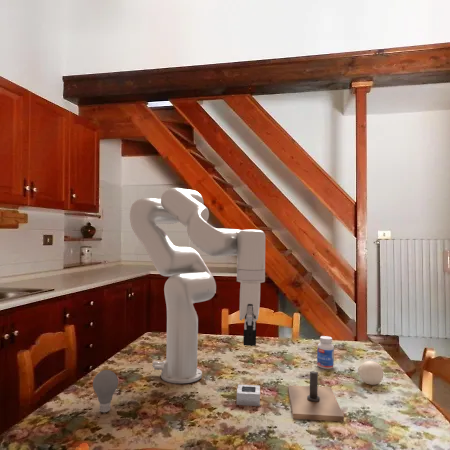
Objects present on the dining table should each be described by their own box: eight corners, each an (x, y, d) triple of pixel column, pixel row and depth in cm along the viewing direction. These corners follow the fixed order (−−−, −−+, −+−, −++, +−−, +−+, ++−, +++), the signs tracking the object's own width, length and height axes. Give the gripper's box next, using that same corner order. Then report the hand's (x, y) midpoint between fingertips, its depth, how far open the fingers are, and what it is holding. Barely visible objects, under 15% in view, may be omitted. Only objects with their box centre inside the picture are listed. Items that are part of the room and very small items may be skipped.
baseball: (361, 377, 126) (361, 356, 126) (385, 383, 122) (386, 360, 122) (354, 384, 120) (354, 361, 120) (379, 390, 116) (380, 366, 116)
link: (236, 404, 104) (236, 393, 105) (237, 395, 110) (238, 384, 110) (259, 406, 104) (260, 394, 104) (259, 396, 110) (260, 385, 110)
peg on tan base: (293, 418, 97) (293, 384, 97) (287, 389, 115) (288, 360, 115) (343, 421, 96) (344, 386, 96) (330, 391, 114) (331, 362, 114)
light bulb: (103, 419, 95) (104, 376, 95) (86, 412, 98) (87, 371, 98) (122, 410, 100) (123, 369, 100) (105, 404, 103) (106, 365, 104)
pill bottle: (315, 367, 134) (316, 338, 135) (318, 363, 139) (318, 334, 140) (332, 370, 132) (333, 340, 133) (334, 365, 137) (335, 336, 138)
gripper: (238, 272, 117) (237, 332, 116) (234, 279, 99) (234, 349, 99) (264, 273, 116) (263, 332, 116) (265, 280, 99) (264, 350, 98)
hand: (250, 340), depth 107 cm, fingers open, 9 cm apart
